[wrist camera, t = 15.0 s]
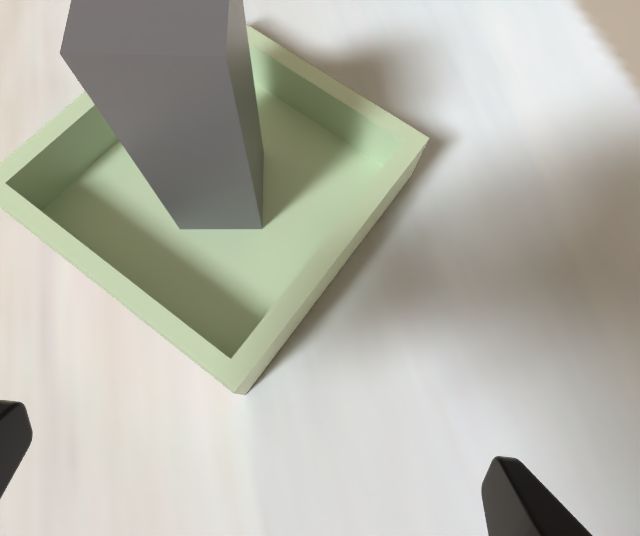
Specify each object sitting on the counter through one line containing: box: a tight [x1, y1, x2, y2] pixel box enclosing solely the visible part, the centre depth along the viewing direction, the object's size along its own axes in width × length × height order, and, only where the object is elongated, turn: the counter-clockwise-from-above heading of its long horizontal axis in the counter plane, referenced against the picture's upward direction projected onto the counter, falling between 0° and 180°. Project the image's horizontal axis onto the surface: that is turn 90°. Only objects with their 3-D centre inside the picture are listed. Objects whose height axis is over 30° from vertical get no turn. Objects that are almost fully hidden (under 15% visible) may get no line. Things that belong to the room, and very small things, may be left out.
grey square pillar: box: [60, 0, 264, 229], centre depth 18 cm, size 5×4×12 cm
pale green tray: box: [0, 24, 429, 395], centre depth 23 cm, size 16×16×4 cm
